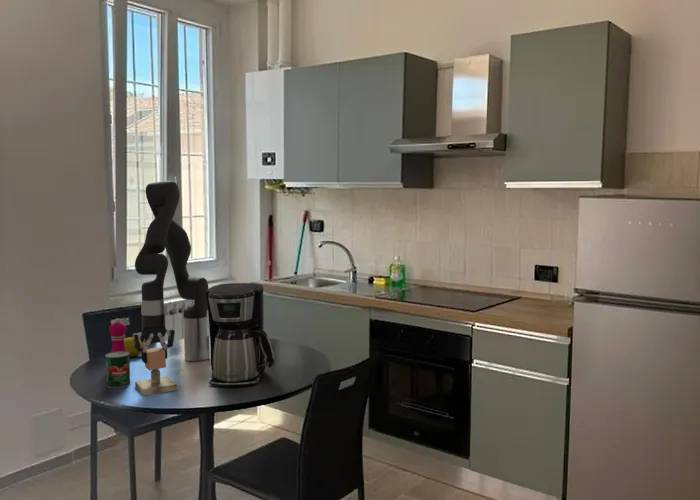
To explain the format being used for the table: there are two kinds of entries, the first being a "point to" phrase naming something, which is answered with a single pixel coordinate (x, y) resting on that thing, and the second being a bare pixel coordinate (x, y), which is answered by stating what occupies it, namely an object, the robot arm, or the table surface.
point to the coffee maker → (237, 334)
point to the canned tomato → (117, 369)
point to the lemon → (131, 346)
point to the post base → (155, 384)
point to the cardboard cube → (155, 358)
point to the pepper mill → (118, 336)
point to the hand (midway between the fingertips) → (154, 361)
